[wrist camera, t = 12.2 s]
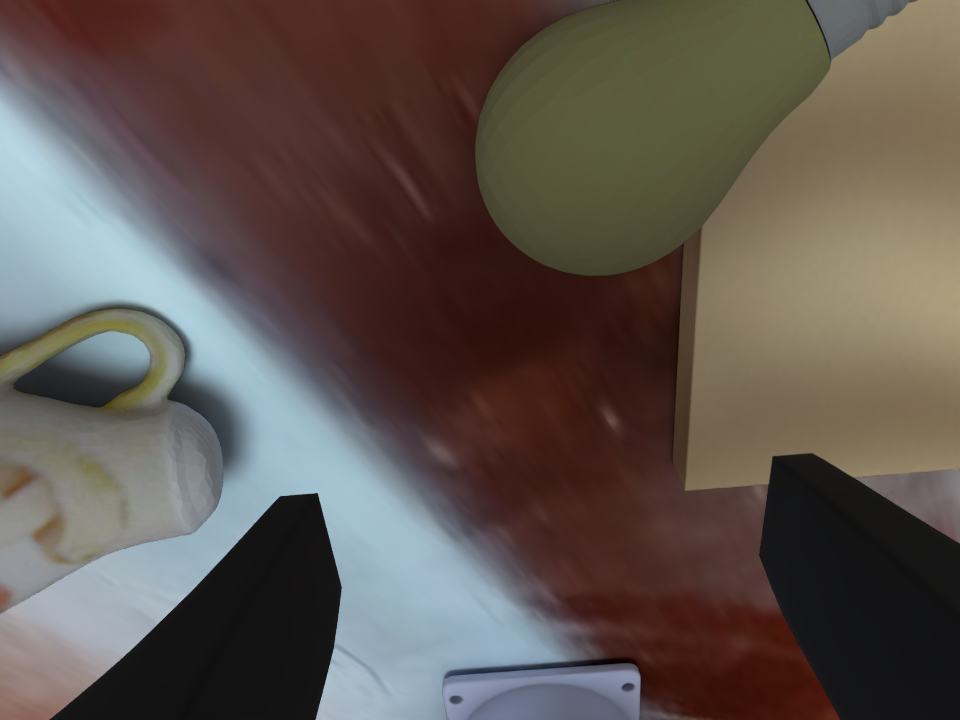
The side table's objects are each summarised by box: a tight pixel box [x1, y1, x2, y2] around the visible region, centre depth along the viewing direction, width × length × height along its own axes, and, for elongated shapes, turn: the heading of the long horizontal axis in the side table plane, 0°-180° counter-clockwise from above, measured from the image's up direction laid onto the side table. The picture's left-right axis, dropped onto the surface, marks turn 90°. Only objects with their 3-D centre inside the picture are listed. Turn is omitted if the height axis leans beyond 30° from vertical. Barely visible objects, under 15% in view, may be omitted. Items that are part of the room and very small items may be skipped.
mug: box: [0, 309, 223, 614], centre depth 19 cm, size 8×10×10 cm
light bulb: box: [475, 0, 918, 276], centre depth 14 cm, size 6×6×10 cm
